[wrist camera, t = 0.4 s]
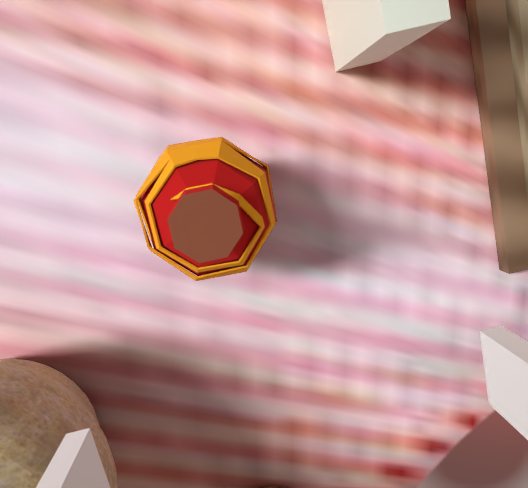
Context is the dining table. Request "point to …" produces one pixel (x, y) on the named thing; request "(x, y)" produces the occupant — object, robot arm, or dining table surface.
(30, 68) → the dining table surface
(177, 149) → the potion bottle
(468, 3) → the wooden rack
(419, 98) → the dining table surface
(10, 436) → the vase
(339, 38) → the cream rectangular block
